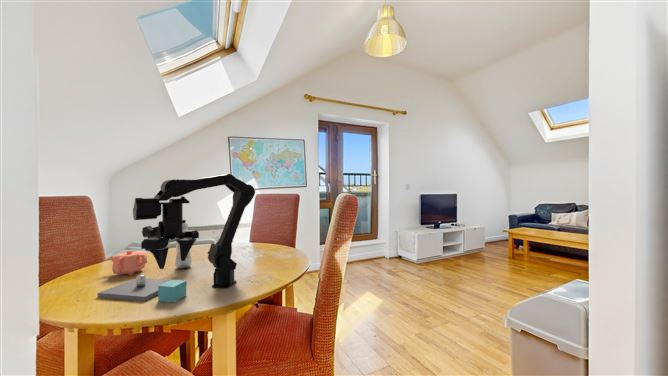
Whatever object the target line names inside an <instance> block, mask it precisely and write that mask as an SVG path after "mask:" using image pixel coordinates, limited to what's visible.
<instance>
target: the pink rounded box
mask: <svg viewBox="0 0 668 376" xmlns="http://www.w3.org/2000/svg"><path fill="white" fill-rule="evenodd" d="M109 260H110V261H111V262H112V268H111V269H112V273H113V274H114V275H116V277H119V276H122V275H123V274H124V275H125V274H126V275H128V276H134V275H135V273H141V272H142V270H143V269H144V268H145V267H146V264H147V263H148V257H147V254H146V253H144V251H141V250H139V251H133V250H132V249H129V250H126V251H125V252H123V253H120V254H116V255H112V256H110V257H109Z"/></svg>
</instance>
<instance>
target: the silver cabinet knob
mask: <svg viewBox="0 0 668 376" xmlns="http://www.w3.org/2000/svg"><path fill="white" fill-rule="evenodd" d="M135 277H136V278H135V279H136V287H137V288H141V287H144V286H146V278H147V276H146V274H138V275H136V276H135Z"/></svg>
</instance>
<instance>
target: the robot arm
mask: <svg viewBox="0 0 668 376" xmlns="http://www.w3.org/2000/svg"><path fill="white" fill-rule="evenodd" d="M219 186H225V187H226V188H227V189H229V191H231V192H232V193H233V194H232V206H231V209H230V211H229V214H228V216H227V219H226V221H225V224H224V226H223V229H222V231H221V234H220V235H219V239H218V240H217V242H216V243H214V242H213V243H212V242H211V244H210V246H209V247H210V248H209V250H208V252H207V253H206V254H207V259H208V262H209V263H210V264H211V265H212V266H213V267H214V272H213V284H212V285H211V288H224V289H228V288H230V287H231V286H233V285H234V284H236V283H237V280H236V279H235V270H236V267H237V265H238V263H237V262H235V260H233V259H232V258H231V257H232V253H233V249H232V248H233V245H232V243H233V240H234V238H235V235H236V234H237V230H238V227H239V225H240V222H241V219H242V216H243V214H244V212H245V209H246V207H247V206H248V205H249V204H250V203H252V200H253V198H254V196H255V195H256V190H255V188H254V186H253V185H251V184H247V183H246V182H245V181H242V180H240V179H239V178H237V177H236V176H234V175H233V174H231V173H223V174H222V175H220V174H219V175H213V176H209V177H202V178H201V177H200V178H196V179H167V180H164V181H163V182H162V183H161V185H160V190H159V191H158V192H157V193H156V195H154V197H148V198H147V197H134V203H133V208H132V216H133V220H134V221H142V220H157V219H158V217H160V216H161V217H162V220H159V221H158V223H157V224H158V225H157V226H154V227H152V225H148V226H144V227H142V228H141V229H142V230H141V234H142V237H144V239H143V240H142V241H141V244H140V247H141V249H142V250H145V251H147V252H149V253H150V254H152V255H153V257H154V260H155V261H156V263H157V266H158V268H159V269H160V270H164V268H165V265H166V262H167V258H168V257H167V256H168V253H169V248H170V247H168V245H169V243H171V242H176V241H177V242H178V243H179V245H180V256H181V261H185V259H186V257H187V255H188V253H189V251H190V252H191V248H192V247H193V246H194V244H195V242H197V239H198V238H200V233H199V231H198V230H196V229H188V230H183V223H186V221H187V220H186V219H183V218H184V216H183V209H184V208H183V205H184V204H190V200H189V199H187V198H186V197H185V196H184V195H187V194H189V193H191V192H194V191H197V190H202V189H203V190H204V189H209V188H214V187H219ZM178 197H180V198H178ZM168 200H169V201H168Z"/></svg>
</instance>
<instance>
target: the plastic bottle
mask: <svg viewBox="0 0 668 376" xmlns="http://www.w3.org/2000/svg"><path fill="white" fill-rule="evenodd" d="M188 228H189V223H183V230H189V229H188ZM175 246H176V247H175V248H176V255H175V260H174V261H175V267H176V269H186V268H190V267H191V266H192V256H191V250H190V251H189V253H188V255H187V257H186V259H185V261H181V256H180V245H179V243H178V242H177V241H175Z"/></svg>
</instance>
